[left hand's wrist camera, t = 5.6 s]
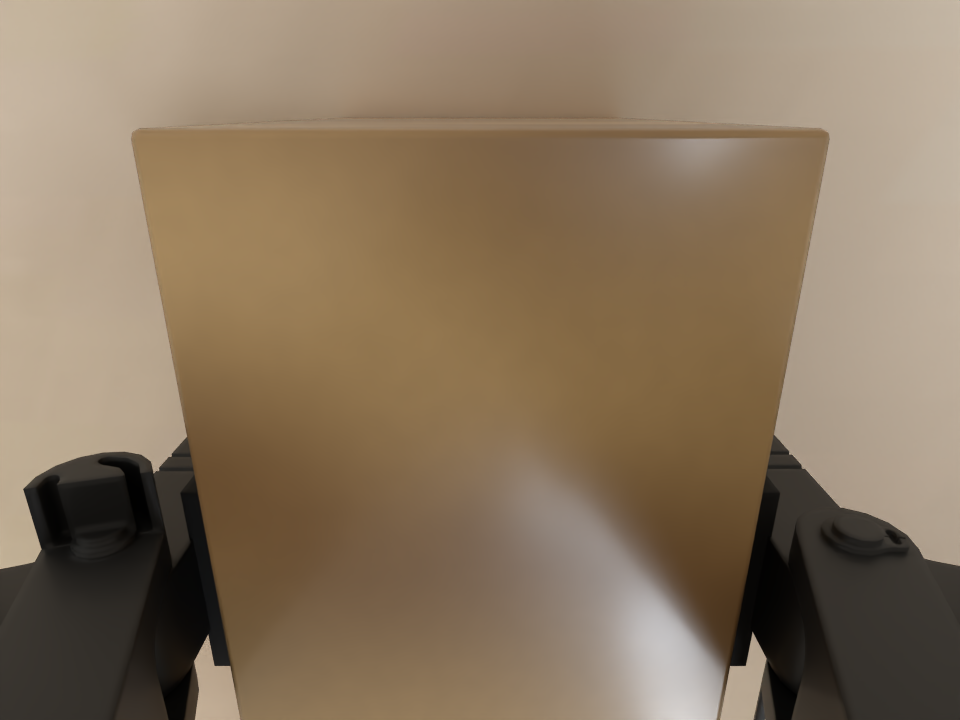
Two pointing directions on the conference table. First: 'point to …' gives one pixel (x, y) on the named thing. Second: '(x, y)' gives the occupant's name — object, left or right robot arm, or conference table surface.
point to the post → (480, 401)
